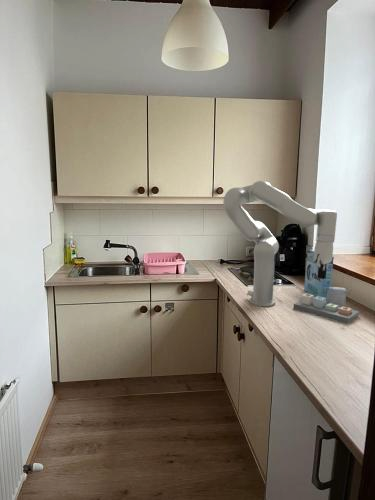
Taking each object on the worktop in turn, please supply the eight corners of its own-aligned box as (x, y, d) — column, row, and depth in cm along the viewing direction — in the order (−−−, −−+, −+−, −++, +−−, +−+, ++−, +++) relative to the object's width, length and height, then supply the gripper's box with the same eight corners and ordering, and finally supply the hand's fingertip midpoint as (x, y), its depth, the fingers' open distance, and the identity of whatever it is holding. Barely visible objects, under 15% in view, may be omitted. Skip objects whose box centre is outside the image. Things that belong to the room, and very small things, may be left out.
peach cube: (338, 317, 150) (338, 308, 149) (341, 314, 153) (342, 305, 152) (347, 319, 147) (348, 310, 146) (351, 317, 150) (352, 308, 149)
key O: (301, 303, 162) (302, 294, 161) (305, 301, 165) (306, 292, 164) (309, 305, 159) (310, 296, 158) (313, 303, 162) (314, 294, 161)
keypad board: (293, 308, 161) (293, 303, 160) (305, 303, 169) (305, 298, 169) (348, 324, 143) (348, 318, 143) (358, 316, 151) (359, 311, 151)
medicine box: (343, 304, 167) (345, 287, 166) (345, 307, 163) (346, 290, 161) (326, 303, 169) (327, 286, 168) (327, 306, 165) (328, 288, 164)
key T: (313, 306, 158) (313, 297, 157) (317, 304, 160) (317, 295, 160) (321, 308, 155) (322, 299, 154) (325, 306, 158) (326, 297, 157)
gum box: (303, 290, 191) (306, 249, 187) (312, 290, 191) (315, 249, 187) (320, 301, 172) (324, 256, 168) (330, 301, 172) (334, 256, 168)
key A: (325, 313, 154) (325, 304, 153) (328, 311, 157) (329, 302, 156) (334, 316, 151) (334, 307, 150) (337, 313, 154) (338, 304, 153)
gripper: (324, 235, 160) (320, 273, 163) (309, 238, 149) (305, 279, 153) (340, 237, 154) (336, 277, 158) (326, 240, 144) (322, 282, 147)
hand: (321, 278), depth 155 cm, fingers closed
